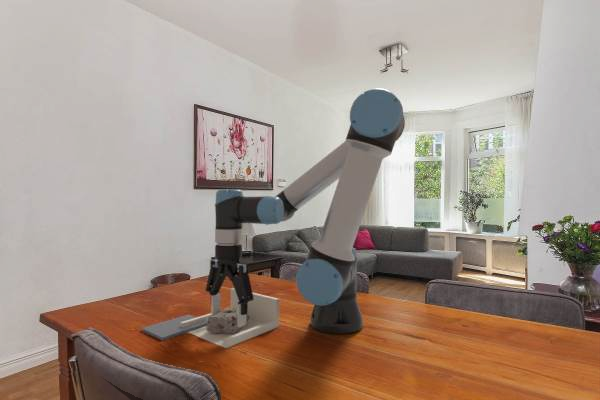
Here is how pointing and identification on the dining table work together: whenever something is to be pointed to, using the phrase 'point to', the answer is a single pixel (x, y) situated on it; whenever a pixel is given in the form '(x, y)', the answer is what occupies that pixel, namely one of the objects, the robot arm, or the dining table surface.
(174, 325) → the slate pad
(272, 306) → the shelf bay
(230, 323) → the stone
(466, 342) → the dining table surface
